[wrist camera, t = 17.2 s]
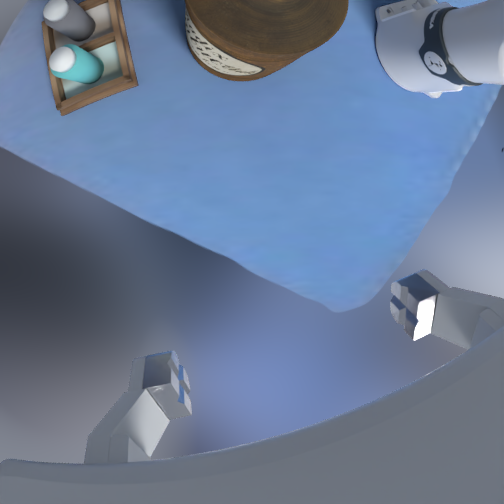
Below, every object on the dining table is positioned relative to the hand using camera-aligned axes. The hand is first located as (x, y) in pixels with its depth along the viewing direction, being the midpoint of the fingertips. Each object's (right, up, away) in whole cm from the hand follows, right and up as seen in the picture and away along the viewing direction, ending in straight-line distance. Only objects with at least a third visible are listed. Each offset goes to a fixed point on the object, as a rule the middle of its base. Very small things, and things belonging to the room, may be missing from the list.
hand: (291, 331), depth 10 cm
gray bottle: (-24, +33, +18) cm, 45 cm away
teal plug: (-23, +27, +21) cm, 41 cm away
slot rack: (-24, +30, +20) cm, 44 cm away
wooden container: (-3, +33, +24) cm, 41 cm away
